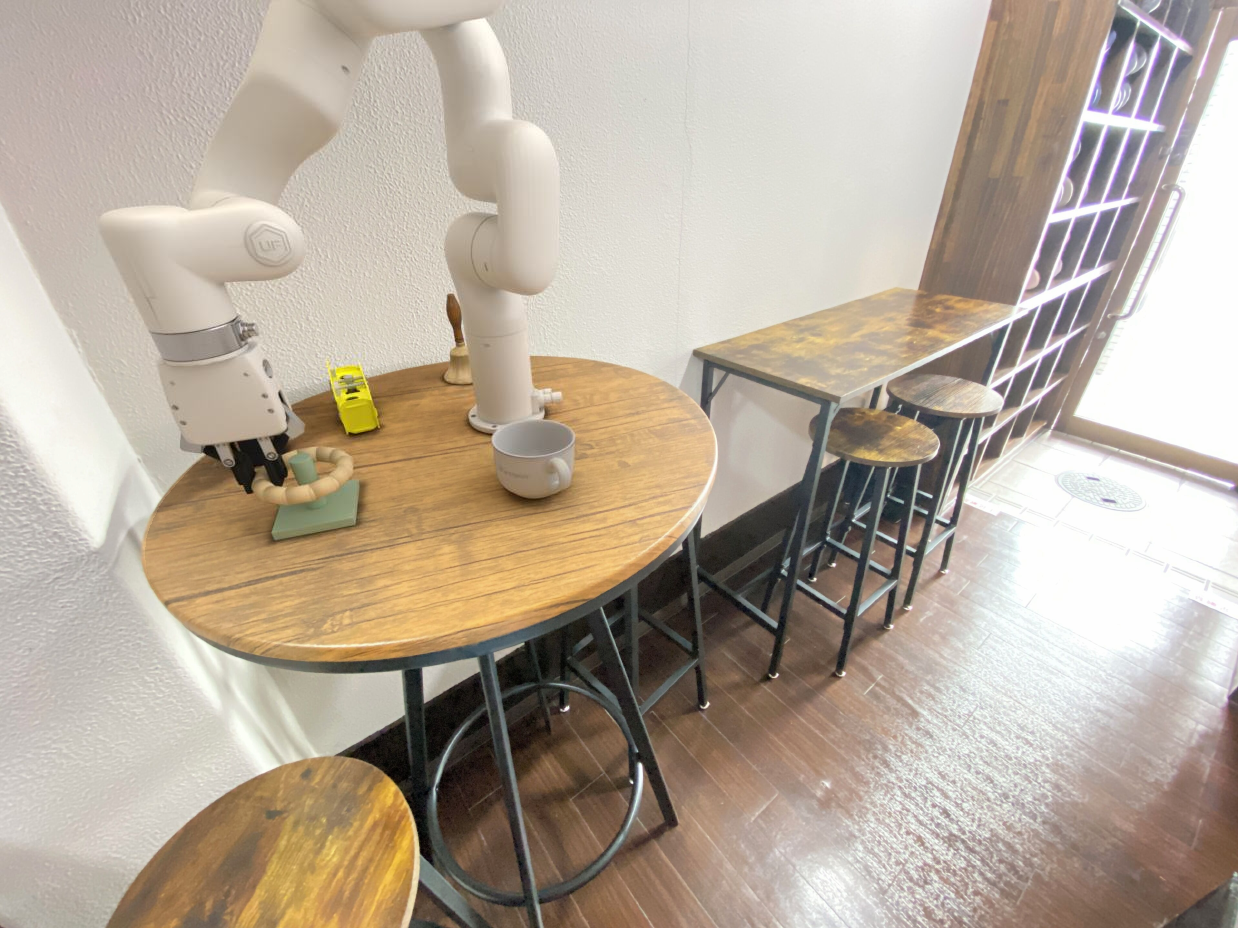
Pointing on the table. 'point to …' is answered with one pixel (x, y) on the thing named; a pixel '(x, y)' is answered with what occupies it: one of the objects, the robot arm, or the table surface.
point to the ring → (309, 491)
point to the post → (316, 505)
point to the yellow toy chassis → (352, 398)
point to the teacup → (534, 457)
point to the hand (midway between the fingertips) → (266, 484)
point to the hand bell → (457, 347)
